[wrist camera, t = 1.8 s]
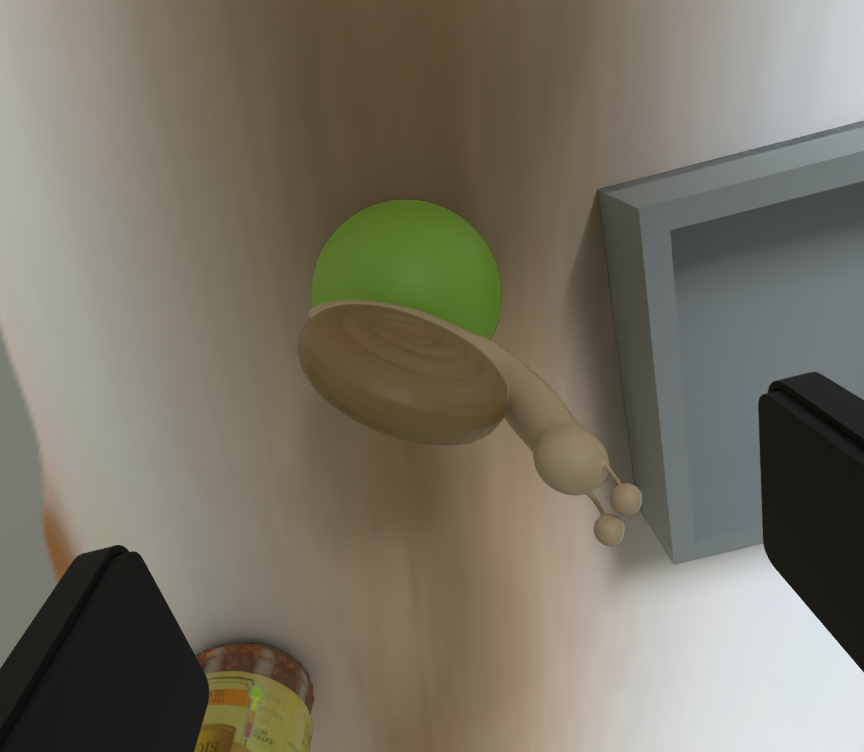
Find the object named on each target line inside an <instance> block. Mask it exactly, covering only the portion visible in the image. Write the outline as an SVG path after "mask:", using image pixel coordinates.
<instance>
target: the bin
mask: <svg viewBox="0 0 864 752" xmlns="http://www.w3.org/2000/svg"><path fill="white" fill-rule="evenodd" d="M598 196H599V204H600V212H601V220H602V228H603V236H604V244H605V252H606V260H607V268H608V276H609V284H610V292H611V300H612V308H613V316H614V324H615V332H616V340H617V348H618V356H619V364H620V372H621V380H622V388H623V396H624V404H625V412H626V420H627V428H628V436H629V444H630V452H631V460H632V468H633V476H634V484H635V486H636V487H638V489H639V490H640V491H641V494H642V504H641V507H640V510H641V512H642V513H643V515H644V517H645V518H646V520H647V522H648V523H649V525H650V526H651V528H652V530H653V531H654V533H655V535H656V536H657V538H658V539H659V541H660V543H661V544H662V546H663V548H664V549H665V551H666V552H667V554H668V556H669V557H670V559H671V561H672V562H673V564H678V563H682V562H686V561H690V560H695V559H699V558H703V557H707V556H711V555H716V554H720V553H724V552H728V551H732V550H737V549H741V548H745V547H749V546H753V545H758V544H762V543H763V526H762V498H761V470H760V443H759V415H758V402H759V398H760V396H761V395H763V394H766V393H768V388H769V386H770V384H771V383H772V382H773V381H777V380H781V379H785V378H789V377H793V376H797V375H801V374H805V373H809V372H817V373H820V374H822V375H824V376H825V377H827V378H828V379H830V380H832V381H833V382H835V383H837V384H838V385H840V386H842V387H843V388H845V389H846V390H848V391H850V392H851V393H853V394H855V395H856V396H858V397H860V398H861V399H863V400H864V121H861V122H857V123H853V124H849V125H845V126H841V127H838V128H834V129H830V130H826V131H822V132H818V133H814V134H810V135H807V136H803V137H799V138H795V139H791V140H787V141H783V142H780V143H776V144H772V145H768V146H764V147H760V148H756V149H753V150H749V151H745V152H741V153H737V154H733V155H729V156H725V157H722V158H718V159H714V160H710V161H706V162H702V163H698V164H695V165H691V166H687V167H683V168H679V169H675V170H671V171H668V172H664V173H660V174H656V175H652V176H648V177H644V178H641V179H637V180H633V181H629V182H625V183H621V184H617V185H613V186H610V187H606V188H602V189H598Z"/></svg>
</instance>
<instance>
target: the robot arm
mask: <svg viewBox="0 0 864 752" xmlns="http://www.w3.org/2000/svg"><path fill="white" fill-rule="evenodd" d="M758 415H759V443H760V470H761V498H762V526H763V543H764V548H765V551H766V553H767V556H768V558H769V560H770V562H771V563H772V565H773V566H774V567H775V569H776V570H777V571H778V572H779V573H780V574H781V576H782V577H783V578H784V579H785V580H786V581H787V583H788V584H789V585H790V586H791V587H792V589H793V590H794V591H795V592H796V593H797V594H798V596H799V597H800V598H801V599H802V600H803V601H804V603H805V604H806V605H807V606H808V607H809V608H810V610H811V611H812V612H813V613H814V614H815V616H816V617H817V618H818V619H819V620H820V621H821V623H822V624H823V625H824V626H825V627H826V628H827V630H828V631H829V632H830V633H831V634H832V636H833V637H834V638H835V639H836V640H837V641H838V643H839V644H840V645H841V646H842V647H843V648H844V650H845V651H846V652H847V653H848V654H849V655H850V657H851V658H852V659H853V660H854V661H855V663H856V664H857V665H858V666H859V667H860V668H861V670H862V671H863V672H864V400H863V399H861V398H860V397H858V396H856V395H855V394H853V393H851V392H850V391H848V390H846V389H845V388H843V387H842V386H840V385H838V384H837V383H835V382H833V381H832V380H830V379H828V378H827V377H825V376H824V375H822V374H820V373H817V372H809V373H805V374H801V375H797V376H793V377H789V378H785V379H781V380H777V381H773V382H772V383H771V384H770V386H769V388H768V393H766V394H763V395H761V396H760V398H759V402H758ZM208 701H209V684H208V680H207V677H206V675H205V673H204V671H203V669H202V667H201V665H200V664H199V662H198V660H197V658H196V656H195V654H194V652H193V651H192V649H191V647H190V645H189V643H188V641H187V640H186V638H185V636H184V634H183V632H182V630H181V628H180V627H179V625H178V623H177V621H176V619H175V617H174V616H173V614H172V612H171V610H170V608H169V606H168V605H167V603H166V601H165V599H164V597H163V595H162V593H161V592H160V590H159V588H158V586H157V584H156V582H155V581H154V579H153V577H152V575H151V573H150V571H149V569H148V568H147V566H146V564H145V562H144V560H143V559H142V557H141V556H140V554H138V553H137V552H133V551H132V552H129V551H128V549H126V548H125V547H124V546H120V545H116V546H112V547H108V548H104V549H100V550H96V551H92V552H88V553H84V554H81V555H79V556H77V557H76V558H75V559H74V560H73V562H72V563H71V565H70V566H69V568H68V569H67V571H66V572H65V574H64V575H63V577H62V578H61V580H60V581H59V583H58V584H57V586H56V587H55V589H54V590H53V592H52V593H51V595H50V596H49V597H48V599H47V600H46V602H45V603H44V605H43V606H42V608H41V609H40V611H39V613H38V614H37V615H36V617H35V618H34V620H33V621H32V623H31V624H30V626H29V627H28V629H27V630H26V632H25V633H24V635H23V636H22V637H21V639H20V640H19V642H18V643H17V645H16V646H15V648H14V649H13V651H12V652H11V654H10V655H9V657H8V658H7V660H6V661H5V663H4V664H3V666H2V667H1V668H0V752H194V751H195V747H196V744H197V740H198V737H199V733H200V730H201V726H202V723H203V719H204V716H205V713H206V709H207V706H208Z"/></svg>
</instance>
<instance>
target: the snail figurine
mask: <svg viewBox="0 0 864 752" xmlns="http://www.w3.org/2000/svg"><path fill="white" fill-rule="evenodd" d="M311 303H312V308H311V309H310V310H309V311H308V318H309V321H308V322H307V324H306V325H305V326H304V328H303V330H302V332H301V334H300V338H299V344H298V355H299V360H300V363H301V367H302V369H303V371H304V373H305V375H306V377H307V378H308V380H309V382H310V383H311V385H312V386H313V387H314V388H315V389H316V390H317V391H318V393H319V394H320V395H321V396H322V397H323V398H324V399H326V400H327V401H328V402H329V403H331V404H332V405H333V406H334V407H336V408H337V409H338V410H340V411H341V412H343V413H344V414H346V415H348V416H349V417H351V418H352V419H354V420H356V421H358V422H360V423H362V424H364V425H366V426H368V427H370V428H372V429H374V430H377V431H379V432H382V433H385V434H387V435H390V436H393V437H396V438H400V439H404V440H407V441H411V442H416V443H423V444H429V445H461V444H468V443H471V442H474V441H476V440H479V439H481V438H483V437H485V436H486V435H488V434H490V433H491V432H492V431H493V430H494V429H495V428H496V427H497V426H498V424H499V423H500V422H501V420H502V419H503V417H505V419H506V420H507V422H508V423H509V424H510V426H511V427H512V428H513V429H514V431H515V432H516V433H517V434H518V435H519V437H520V438H521V439H522V440H523V441H524V442H525V444H526V445H527V446H528V447H529V448H530V449H531V450H532V451H533V457H534V464H535V467H536V470H537V472H538V474H539V475H540V477H541V478H542V479H543V481H544V482H545V483H546V484H548V485H549V486H550V487H551V488H553V489H555V490H556V491H558V492H561V493H564V494H568V495H583V494H585V495H588V496H589V497H590V498H591V500H592V501H593V502H594V504H595V505H596V507H597V508H598V510H599V512H600V514H601V517H599V518H598V519H597V520H596V522H595V525H594V534H595V536H596V538H597V540H598V541H599V542H600V543H602V544H604V545H606V546H615V545H617V544H619V543H620V542H621V541H622V539H623V537H624V534H625V525H624V523H623V521H622V520H621V519H620V518H619V517H618V516H616V515H613V514H605V512H604V510H603V508H602V506H601V505H600V503H599V502H598V500H597V498H596V497H595V496H594V494H593V491H594V490H596V489H597V488H599V487H600V486H601V485H602V484H603V483H604V481H605V480H606V478H607V475H608V473H609V474H610V475H611V476H612V478H613V479H614V480H615V482H616V484H617V486H616V487H615V488H614V489H613V490H612V492H611V495H610V502H611V505H612V507H613V508H614V510H615V511H616V512H618V513H619V514H621V515H625V516H630V515H633V514H635V513H637V512H638V510H639V509H640V507H641V504H642V494H641V491H640V490H639V489H638V487H636V486H635V485H633V484H630V483H621V482H620V480H619V479H618V477H617V476H616V474H615V473H614V472H613V470H612V469H611V468H610V466H609V459H608V455H607V452H606V450H605V448H604V446H603V444H602V443H601V442H600V440H599V439H598V438H597V437H596V436H594V435H593V434H592V433H590V432H589V431H587V430H586V429H584V428H582V427H581V426H580V425H578V423H577V422H576V421H575V419H574V417H573V416H572V414H571V413H570V411H569V409H568V408H567V406H566V405H565V404H564V402H563V401H562V400H561V399H560V397H559V396H558V395H557V394H556V393H555V392H554V391H553V390H552V389H551V387H550V386H549V385H548V384H547V383H546V382H545V381H543V380H542V379H541V378H540V377H539V376H538V375H537V374H535V373H534V372H533V371H532V370H531V369H530V368H529V367H527V366H526V365H525V364H524V363H522V362H521V361H520V360H518V359H517V358H516V357H514V356H513V355H512V354H511V353H509V352H508V351H507V350H506V349H504V348H503V347H501V346H500V345H498V344H497V343H495V342H493V341H492V340H491V338H492V336H493V334H494V332H495V329H496V326H497V323H498V320H499V315H500V309H501V282H500V276H499V272H498V268H497V265H496V262H495V260H494V257H493V255H492V253H491V251H490V249H489V247H488V246H487V244H486V242H485V241H484V240H483V238H482V237H481V236H480V234H479V233H478V232H477V231H476V230H475V229H474V228H473V227H472V226H471V225H470V224H469V223H468V222H467V221H465V220H464V219H463V218H462V217H460V216H459V215H457V214H456V213H454V212H452V211H450V210H448V209H446V208H444V207H442V206H439V205H436V204H433V203H430V202H425V201H420V200H409V199H403V200H392V201H386V202H382V203H379V204H375V205H373V206H370V207H368V208H366V209H363V210H362V211H360V212H358V213H356V214H355V215H353V216H352V217H350V218H349V219H348V220H346V221H345V222H344V223H343V224H342V225H341V226H340V227H339V228H338V229H337V230H336V231H335V232H334V233H333V234H332V236H331V237H330V238H329V240H328V241H327V243H326V244H325V246H324V248H323V250H322V251H321V254H320V256H319V258H318V260H317V263H316V266H315V270H314V274H313V279H312V287H311Z"/></svg>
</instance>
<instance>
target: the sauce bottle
mask: <svg viewBox="0 0 864 752" xmlns="http://www.w3.org/2000/svg"><path fill="white" fill-rule="evenodd" d="M196 658H197V660H198V662H199V664H200V665H201V667H202V669H203V671H204V673H205V675H206V677H207V680H208V684H209V701H208V706H207V709H206V713H205V716H204V719H203V723H202V726H201V730H200V733H199V737H198V740H197V744H196V747H195V751H194V752H310V745H311V738H312V730H313V727H312V720H311V716H310V715H311V709H312V705H313V701H314V696H313V686H312V684H311V682H310V678H309V675H308V673H307V672H306V671H305V670H304V668H303V667H302V666H301V664H300V663H298V662H297V661H295V660H294V659H293V658H291V657H290V656H289V655H287V654H285V653H284V652H282V651H280V650H278V649H276V648H274V647H271V646H267V645H261V644H249V643H239V644H226V645H221V646H218V647H215V648H212V649H207V650H205V651H204V652H203V653H200V654H198V655H196Z"/></svg>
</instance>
